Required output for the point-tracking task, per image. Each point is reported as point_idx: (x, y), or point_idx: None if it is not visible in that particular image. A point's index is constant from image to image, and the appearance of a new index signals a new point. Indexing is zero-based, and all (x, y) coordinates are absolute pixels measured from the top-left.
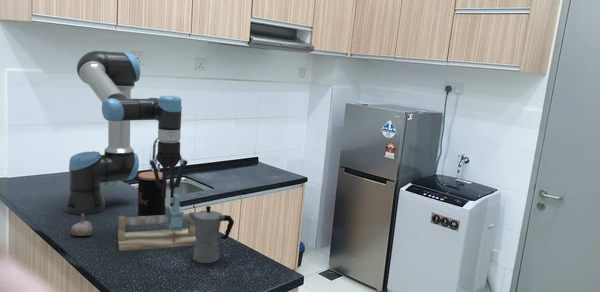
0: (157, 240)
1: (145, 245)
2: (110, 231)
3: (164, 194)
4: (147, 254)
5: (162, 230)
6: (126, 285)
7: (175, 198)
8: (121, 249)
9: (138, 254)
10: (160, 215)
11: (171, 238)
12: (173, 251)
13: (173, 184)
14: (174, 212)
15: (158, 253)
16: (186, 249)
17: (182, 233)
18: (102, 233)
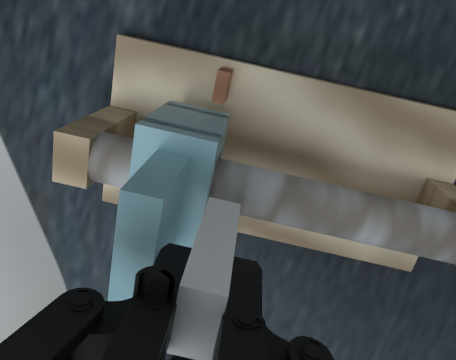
0: (292, 123)
1: (364, 90)
2: (406, 320)
3: (242, 278)
4: (376, 22)
5: None
6: None
7: (158, 197)
8: None
9: (413, 40)
10: (267, 205)
11: None
12: (252, 6)
13: (126, 325)
14: (194, 141)
15: (325, 12)
16: (187, 4)
17: None
18: (442, 314)
